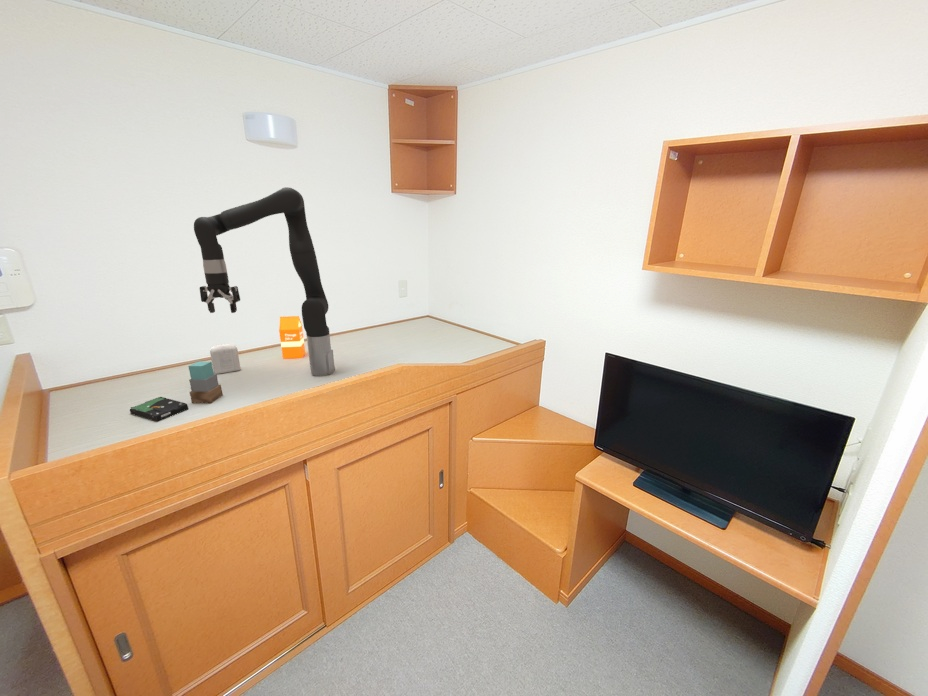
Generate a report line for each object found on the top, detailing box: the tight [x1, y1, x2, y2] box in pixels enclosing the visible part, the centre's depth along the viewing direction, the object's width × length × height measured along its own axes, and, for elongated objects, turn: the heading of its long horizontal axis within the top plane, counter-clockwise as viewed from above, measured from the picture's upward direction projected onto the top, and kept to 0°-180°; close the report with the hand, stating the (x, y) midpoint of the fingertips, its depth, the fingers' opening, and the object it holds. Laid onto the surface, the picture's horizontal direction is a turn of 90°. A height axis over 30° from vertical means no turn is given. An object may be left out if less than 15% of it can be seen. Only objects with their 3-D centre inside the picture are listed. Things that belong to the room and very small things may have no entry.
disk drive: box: [129, 396, 189, 423], centre depth 135 cm, size 10×3×15 cm
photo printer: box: [209, 343, 241, 375], centre depth 171 cm, size 10×4×12 cm, turn 123°
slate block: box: [189, 374, 220, 392], centre depth 143 cm, size 6×6×4 cm
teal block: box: [188, 361, 214, 379], centre depth 142 cm, size 5×5×5 cm
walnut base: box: [189, 384, 224, 404], centre depth 144 cm, size 7×7×4 cm
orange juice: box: [278, 315, 306, 360], centre depth 190 cm, size 8×9×20 cm
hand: (223, 312), depth 156 cm, fingers open, 8 cm apart
